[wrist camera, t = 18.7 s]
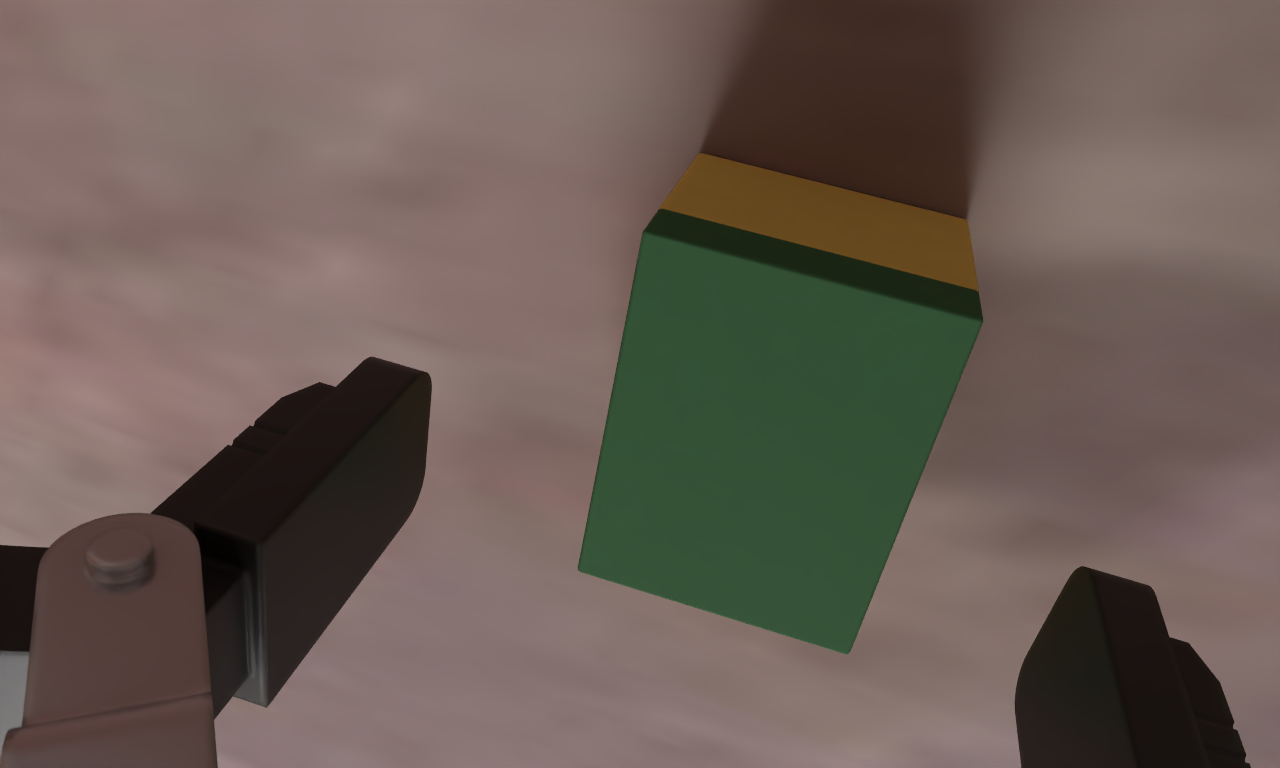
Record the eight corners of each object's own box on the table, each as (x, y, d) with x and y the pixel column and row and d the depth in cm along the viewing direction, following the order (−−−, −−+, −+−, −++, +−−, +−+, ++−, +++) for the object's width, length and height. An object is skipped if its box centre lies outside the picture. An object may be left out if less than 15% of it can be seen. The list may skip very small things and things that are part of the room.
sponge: (699, 150, 16) (643, 228, 13) (968, 219, 16) (985, 320, 12) (635, 445, 19) (576, 572, 16) (859, 510, 19) (849, 656, 15)
